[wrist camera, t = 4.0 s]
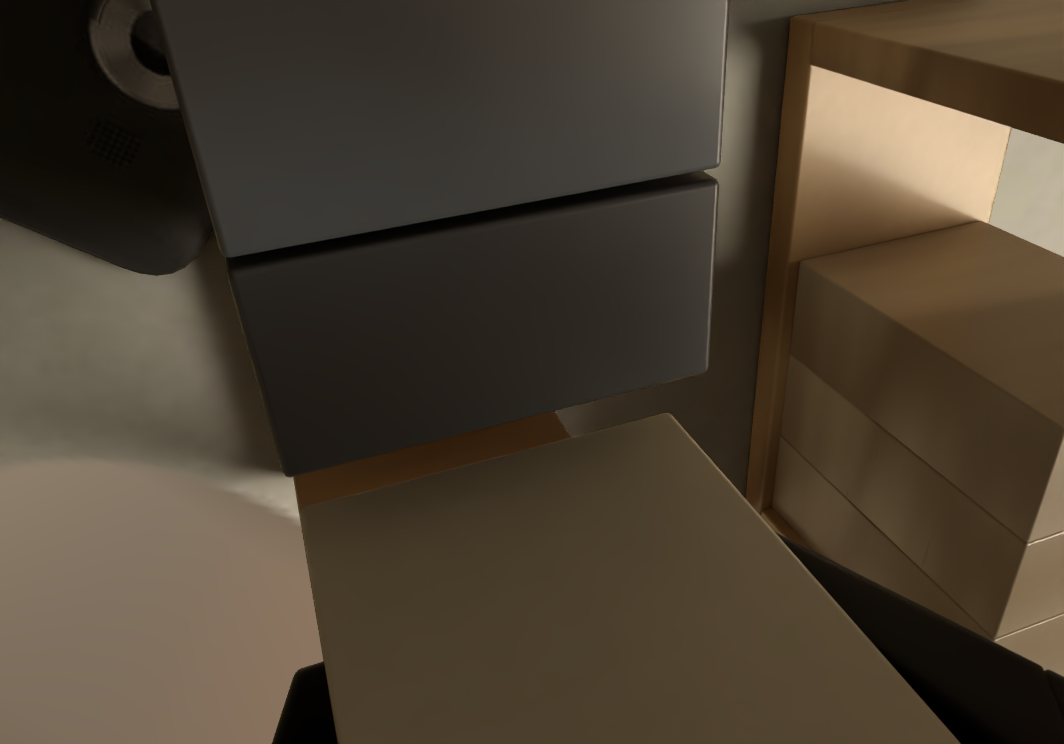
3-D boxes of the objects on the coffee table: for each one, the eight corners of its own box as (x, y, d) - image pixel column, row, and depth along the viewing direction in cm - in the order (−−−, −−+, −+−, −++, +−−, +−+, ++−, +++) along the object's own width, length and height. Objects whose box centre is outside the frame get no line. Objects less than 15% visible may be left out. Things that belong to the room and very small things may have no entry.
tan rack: (541, 415, 19) (709, 678, 13) (295, 477, 18) (352, 805, 12) (485, -386, 12) (812, -677, 6) (61, -386, 11) (-131, -768, 4)
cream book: (665, 539, 13) (1048, 1081, 7) (334, 639, 11) (473, 1397, 6) (670, 408, 11) (1143, 942, 6) (297, 505, 10) (431, 1308, 4)
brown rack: (909, 463, 25) (1154, 665, 19) (743, 513, 23) (946, 750, 17) (1015, -16, 18) (1463, 46, 12) (789, 15, 17) (1156, 104, 10)
